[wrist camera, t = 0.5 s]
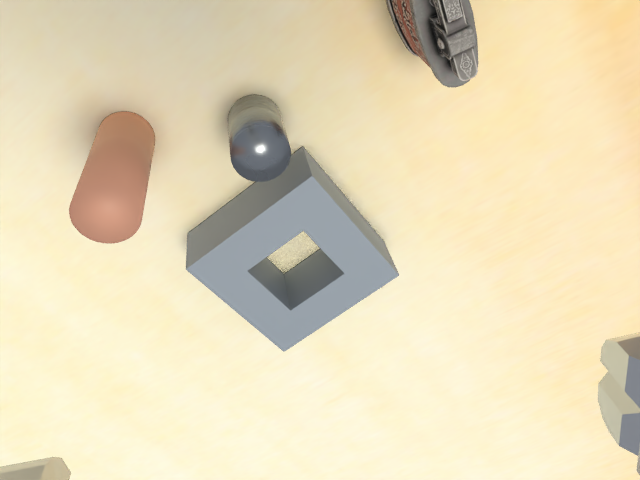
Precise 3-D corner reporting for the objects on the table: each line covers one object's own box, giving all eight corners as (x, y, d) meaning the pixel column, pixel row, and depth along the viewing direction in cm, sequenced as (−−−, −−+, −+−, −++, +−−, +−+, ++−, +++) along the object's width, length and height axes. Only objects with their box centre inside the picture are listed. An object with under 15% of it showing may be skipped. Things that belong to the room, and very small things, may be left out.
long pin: (85, 134, 43) (53, 212, 34) (125, 100, 42) (104, 170, 33) (127, 172, 45) (107, 254, 36) (166, 140, 44) (156, 216, 35)
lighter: (447, 41, 43) (504, 87, 35) (404, 60, 43) (450, 111, 35) (416, -73, 39) (473, -51, 30) (368, -50, 39) (412, -22, 31)
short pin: (216, 117, 44) (217, 152, 39) (258, 83, 43) (265, 114, 38) (251, 154, 46) (256, 192, 41) (292, 123, 45) (302, 158, 40)
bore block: (187, 233, 49) (185, 269, 44) (302, 146, 46) (312, 175, 42) (278, 313, 55) (283, 351, 51) (383, 241, 52) (399, 275, 48)
